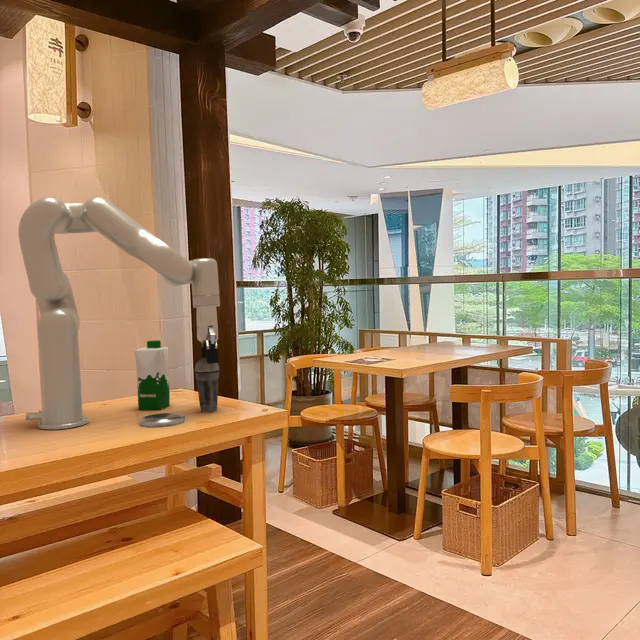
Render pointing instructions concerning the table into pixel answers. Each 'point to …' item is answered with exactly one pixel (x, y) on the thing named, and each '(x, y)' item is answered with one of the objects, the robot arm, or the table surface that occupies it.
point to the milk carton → (152, 376)
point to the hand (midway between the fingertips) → (210, 361)
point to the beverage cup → (207, 384)
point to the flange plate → (162, 419)
